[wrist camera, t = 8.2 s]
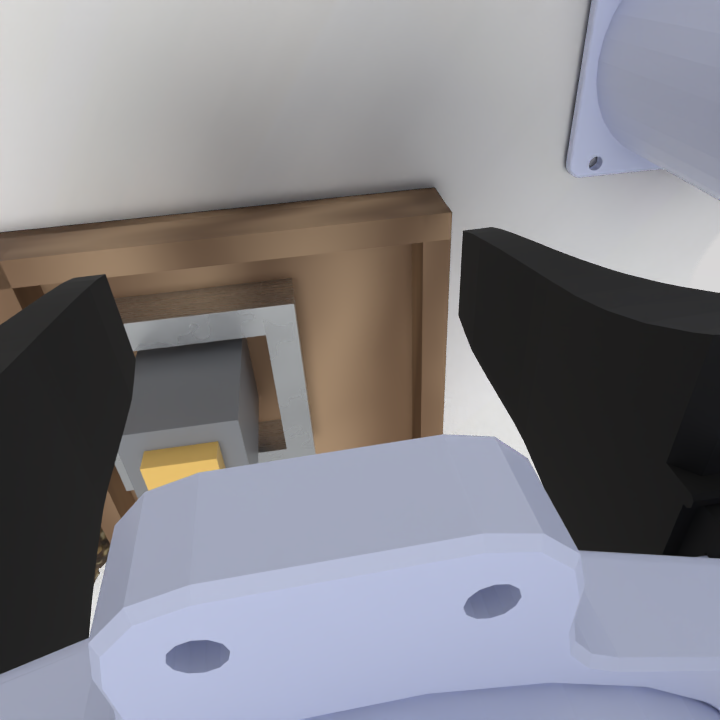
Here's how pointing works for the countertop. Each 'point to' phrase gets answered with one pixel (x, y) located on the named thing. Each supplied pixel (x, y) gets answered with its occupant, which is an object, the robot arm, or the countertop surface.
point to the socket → (232, 321)
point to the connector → (190, 413)
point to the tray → (311, 292)
